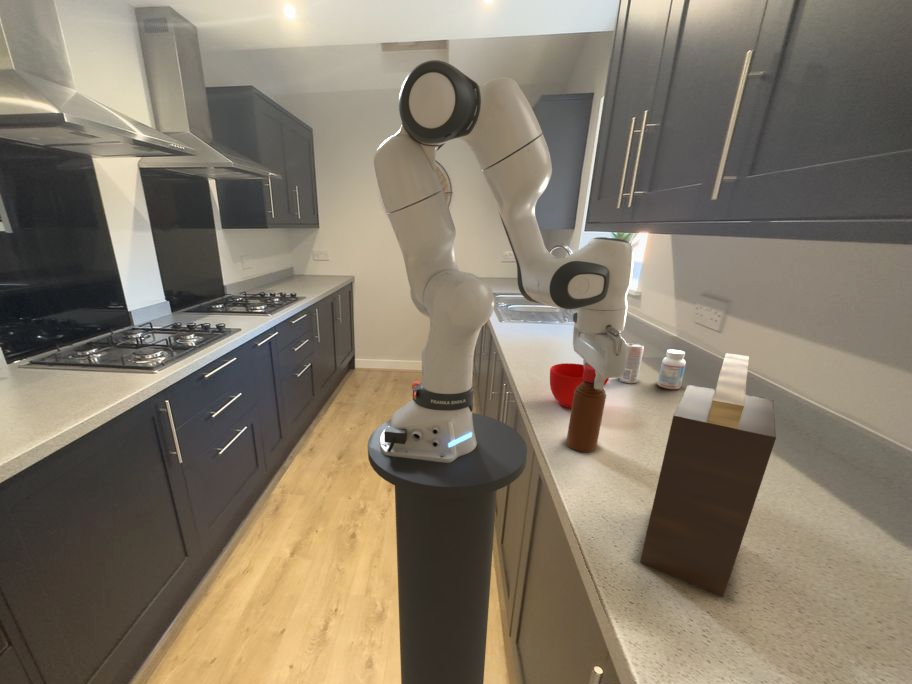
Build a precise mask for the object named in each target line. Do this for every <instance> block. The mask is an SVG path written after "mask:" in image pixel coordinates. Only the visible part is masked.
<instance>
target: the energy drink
mask: <svg viewBox="0 0 912 684" xmlns="http://www.w3.org/2000/svg"><path fill="white" fill-rule="evenodd" d="M644 347H645V346H644V345H643V344H642V343H637V342H626V364H625V372H624V374H623V376H622V377H621V378H618V380H619V381H620V382H622V383H625V384H636V383H637V382H638V381H639V375H640V371H641V365H642V359H643V355H644V350H645V348H644Z"/></svg>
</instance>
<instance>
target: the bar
mask: <svg viewBox="0 0 912 684" xmlns="http://www.w3.org/2000/svg"><path fill="white" fill-rule="evenodd" d="M749 363H750V356H749V355H742V354H737V353H736V354H734V353H726V352H725V355H724V359H723V362H722V365H721V369H720V372H719V376H718V379H717V383H716V387H715V389H714V390H715V393H714V397H713V400H712V404H711V408H710V412H709V416H708V420H707V423H711V424H716V425H721V426H726V427H730V428H735V429H738V426H739V422H740V419H741V415H742V412H743V409H744V403H745V395H746V391H747V383H748V372H749Z"/></svg>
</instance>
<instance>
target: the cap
mask: <svg viewBox="0 0 912 684" xmlns="http://www.w3.org/2000/svg"><path fill="white" fill-rule="evenodd" d="M595 376H596V374H595V369H594V368H593V367H592V366H591V365H586V366H584V370H583V376H582V379H583V380H584V381H586V382H590V383H593V379H595Z"/></svg>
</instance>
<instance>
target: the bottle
mask: <svg viewBox="0 0 912 684" xmlns="http://www.w3.org/2000/svg"><path fill="white" fill-rule="evenodd" d="M592 384H593V383H590V382H586V381H584V382H582V383H581V384H579V386H577V387H576V389H575V391H574V397H573V403H572V408H571V410H570V417H569V422H568V427H567V428H568V429H567V435H566V439H565V440H566V442H565V443H566V445H567V447H569V448H570V449H572V450H574V451H578V452H583V453H590V452H594V451H596V450H597V447H598V441H599V435H600V431H601V426H602V420H603V414H604V410H605V405H606V400H607V392H606V390H605V387H603V389H595V388H594V387H593V386H592Z"/></svg>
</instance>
